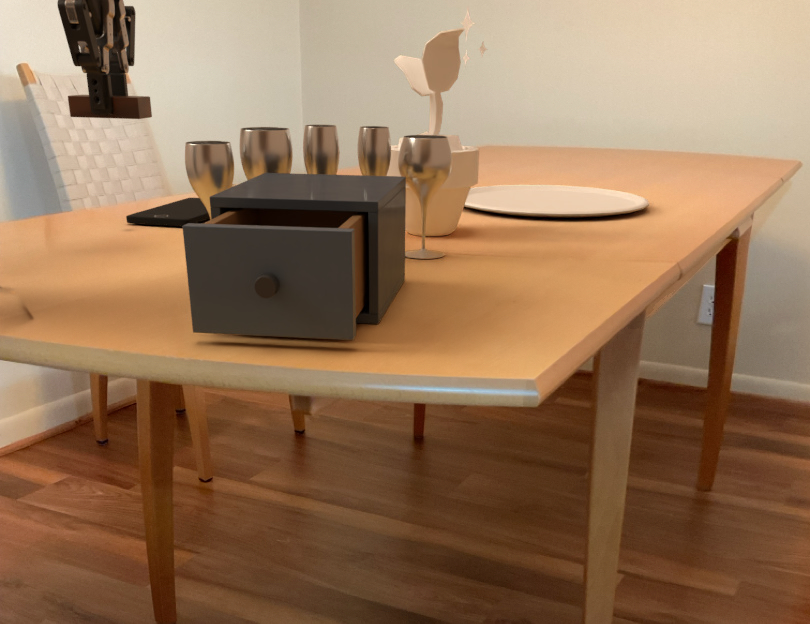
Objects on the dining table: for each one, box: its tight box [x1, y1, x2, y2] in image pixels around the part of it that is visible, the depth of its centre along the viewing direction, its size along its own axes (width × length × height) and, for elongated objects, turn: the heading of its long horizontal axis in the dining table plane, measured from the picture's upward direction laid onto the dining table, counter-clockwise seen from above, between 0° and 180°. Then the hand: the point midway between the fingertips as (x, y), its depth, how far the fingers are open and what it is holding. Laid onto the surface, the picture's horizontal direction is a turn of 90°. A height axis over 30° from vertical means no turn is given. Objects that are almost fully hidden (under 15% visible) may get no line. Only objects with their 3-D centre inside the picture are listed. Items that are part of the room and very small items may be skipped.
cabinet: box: [210, 173, 406, 325], centre depth 81 cm, size 17×14×10 cm
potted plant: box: [387, 6, 489, 237], centre depth 109 cm, size 13×12×25 cm
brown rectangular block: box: [67, 94, 153, 120], centre depth 96 cm, size 4×8×2 cm, turn 83°
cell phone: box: [125, 197, 210, 227], centre depth 123 cm, size 9×18×1 cm, turn 165°
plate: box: [464, 184, 650, 219], centre depth 135 cm, size 29×29×1 cm
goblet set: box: [184, 124, 452, 260], centre depth 95 cm, size 28×6×13 cm, turn 111°
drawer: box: [181, 208, 369, 341], centre depth 73 cm, size 17×12×8 cm
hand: (111, 112), depth 96 cm, fingers closed on brown rectangular block, 3 cm apart
